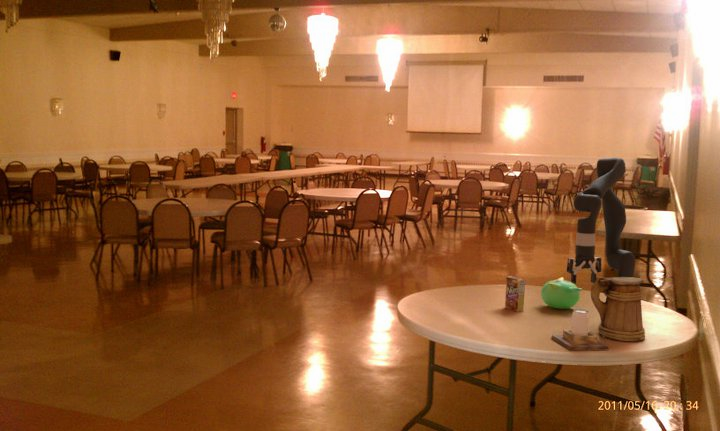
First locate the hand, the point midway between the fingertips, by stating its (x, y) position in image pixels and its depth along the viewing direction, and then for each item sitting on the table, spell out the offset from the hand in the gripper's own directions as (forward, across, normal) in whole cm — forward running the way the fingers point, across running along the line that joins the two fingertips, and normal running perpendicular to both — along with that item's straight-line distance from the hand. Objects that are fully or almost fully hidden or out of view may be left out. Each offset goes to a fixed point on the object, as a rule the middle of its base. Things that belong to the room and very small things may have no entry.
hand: (583, 282), depth 285 cm
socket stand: (+23, +5, +8) cm, 25 cm away
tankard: (+24, -18, -2) cm, 30 cm away
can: (+22, +5, +7) cm, 24 cm away
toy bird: (+24, -17, -48) cm, 56 cm away
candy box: (+24, +7, -48) cm, 54 cm away
